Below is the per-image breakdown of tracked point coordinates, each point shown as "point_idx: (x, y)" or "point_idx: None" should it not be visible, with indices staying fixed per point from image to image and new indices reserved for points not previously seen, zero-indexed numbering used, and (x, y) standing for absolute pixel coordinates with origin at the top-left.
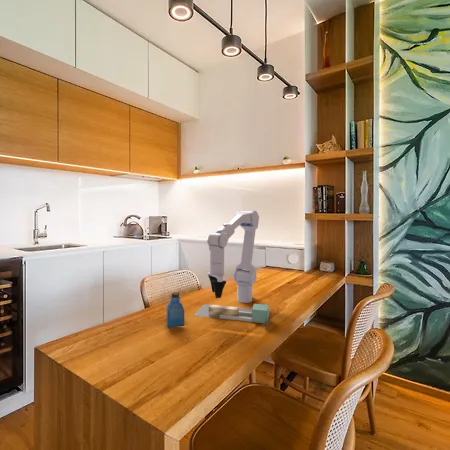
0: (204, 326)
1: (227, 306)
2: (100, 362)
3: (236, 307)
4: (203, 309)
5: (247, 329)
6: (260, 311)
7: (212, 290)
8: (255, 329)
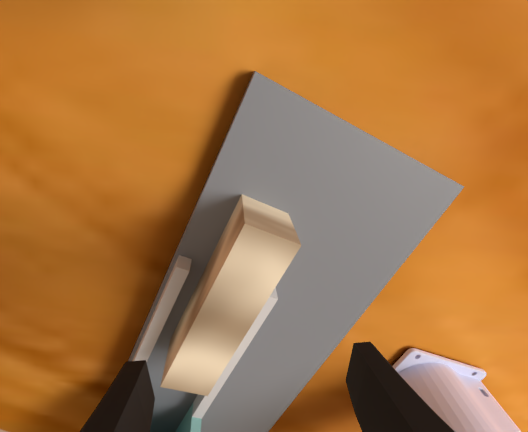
0: (81, 138)
1: (233, 345)
2: None
3: (205, 386)
4: (363, 171)
5: (56, 353)
6: None
7: (363, 360)
8: (60, 380)
